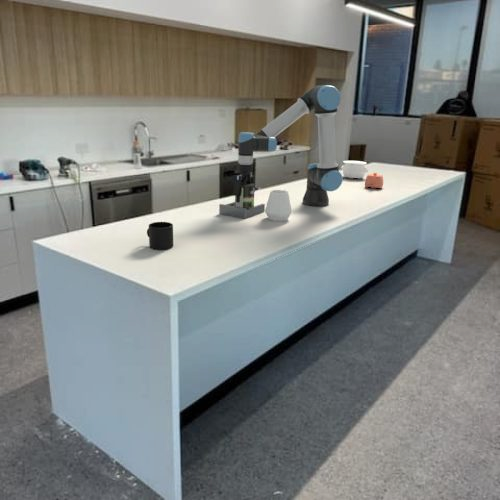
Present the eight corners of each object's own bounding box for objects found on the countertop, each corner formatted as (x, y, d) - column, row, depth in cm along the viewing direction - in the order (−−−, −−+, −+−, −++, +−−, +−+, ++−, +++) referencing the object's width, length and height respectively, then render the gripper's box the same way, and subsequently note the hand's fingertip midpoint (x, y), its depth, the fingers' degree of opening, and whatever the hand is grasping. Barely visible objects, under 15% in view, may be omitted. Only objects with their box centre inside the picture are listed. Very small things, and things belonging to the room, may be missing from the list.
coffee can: (255, 209, 246) (256, 182, 241) (251, 213, 236) (252, 186, 232) (236, 207, 248) (237, 181, 243) (232, 212, 238) (232, 185, 233)
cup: (294, 217, 235) (295, 190, 230) (287, 223, 223) (289, 195, 218) (269, 214, 239) (270, 188, 234) (261, 220, 227) (262, 192, 222)
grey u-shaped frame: (264, 211, 245) (264, 202, 243) (244, 218, 229) (244, 209, 227) (240, 207, 252) (240, 198, 251) (219, 214, 237) (219, 204, 235)
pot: (335, 177, 357) (336, 161, 353) (344, 175, 370) (346, 159, 366) (362, 181, 345) (363, 164, 341) (370, 178, 358) (372, 162, 354)
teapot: (384, 187, 324) (386, 172, 321) (378, 191, 310) (379, 175, 306) (368, 185, 330) (370, 170, 326) (361, 189, 315) (363, 173, 311)
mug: (155, 240, 191) (154, 219, 188) (178, 245, 186) (177, 224, 183) (139, 246, 183) (138, 224, 180) (163, 251, 178) (162, 229, 175)
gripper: (251, 160, 245) (249, 201, 252) (226, 165, 227) (226, 209, 234) (263, 162, 241) (261, 203, 248) (239, 166, 223) (238, 211, 230)
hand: (244, 206), depth 241 cm, fingers closed on coffee can, 10 cm apart
